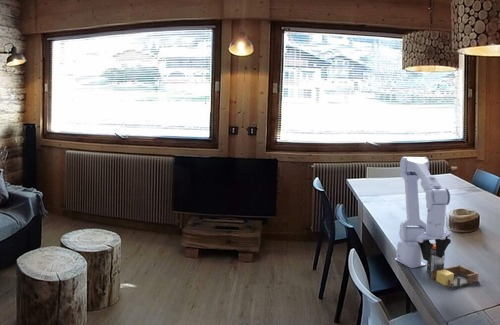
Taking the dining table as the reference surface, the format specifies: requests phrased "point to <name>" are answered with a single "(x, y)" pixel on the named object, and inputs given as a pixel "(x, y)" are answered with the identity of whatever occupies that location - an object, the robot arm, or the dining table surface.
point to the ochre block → (444, 277)
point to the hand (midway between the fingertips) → (432, 258)
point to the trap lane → (462, 270)
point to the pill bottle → (435, 260)
